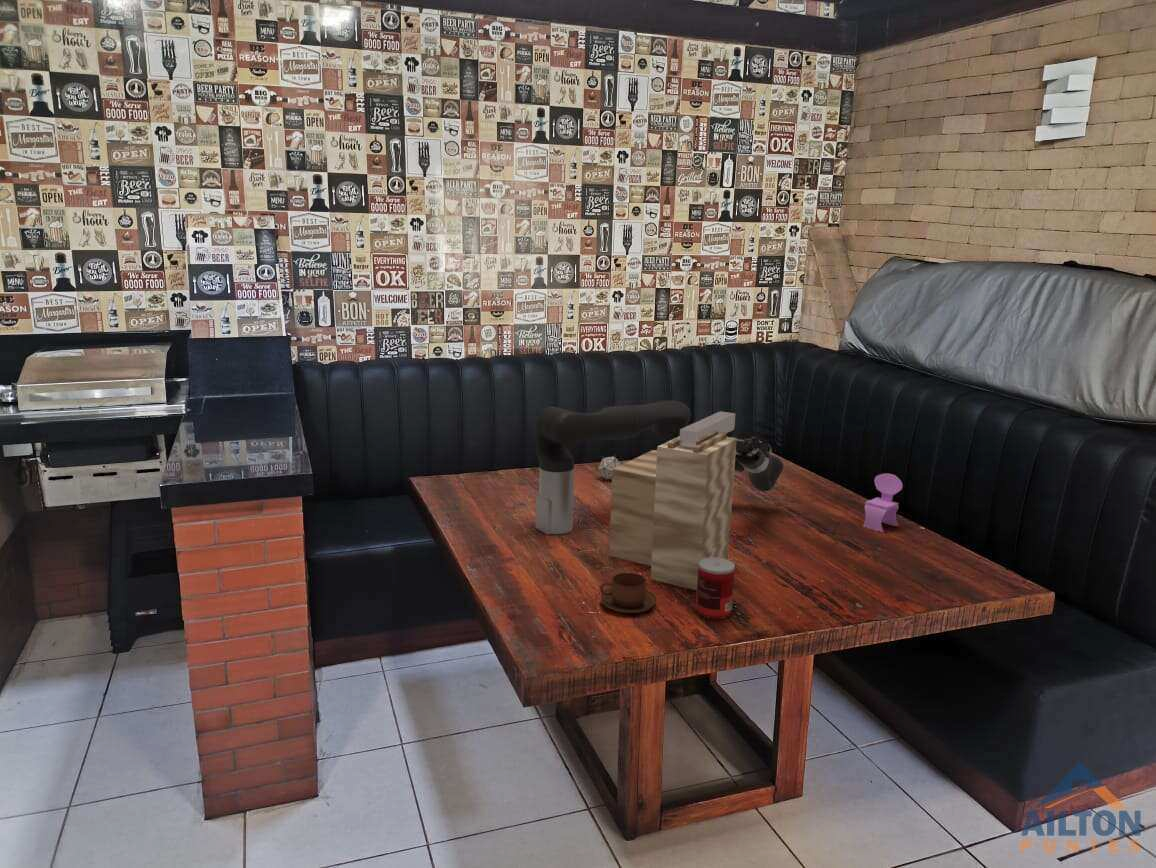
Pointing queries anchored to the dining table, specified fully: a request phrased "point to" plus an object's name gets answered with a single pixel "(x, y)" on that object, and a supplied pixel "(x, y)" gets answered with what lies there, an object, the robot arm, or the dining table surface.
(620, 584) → the cup and saucer
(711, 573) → the canned food
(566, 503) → the robot arm
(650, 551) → the stand
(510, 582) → the dining table surface
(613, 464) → the game die
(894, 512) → the toy chair
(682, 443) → the bar
